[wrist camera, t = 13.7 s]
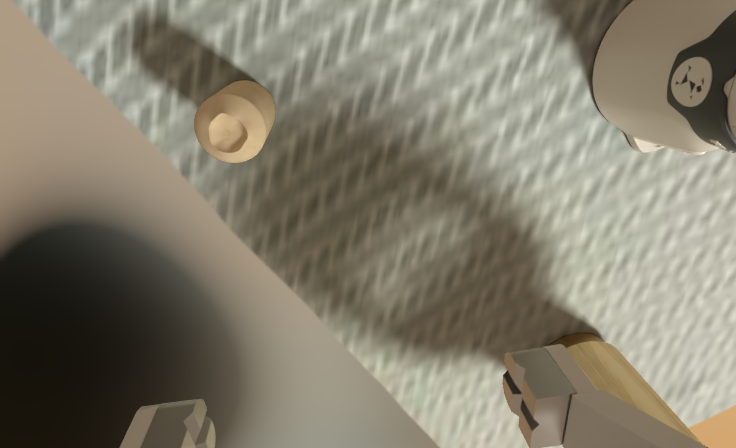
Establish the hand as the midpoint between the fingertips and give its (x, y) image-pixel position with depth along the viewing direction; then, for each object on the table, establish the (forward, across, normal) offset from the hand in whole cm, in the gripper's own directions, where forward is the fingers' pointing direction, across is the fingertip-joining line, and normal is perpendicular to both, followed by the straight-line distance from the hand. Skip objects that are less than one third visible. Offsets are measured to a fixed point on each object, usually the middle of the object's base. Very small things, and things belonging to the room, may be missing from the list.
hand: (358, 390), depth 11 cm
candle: (+34, +8, -2) cm, 35 cm away
